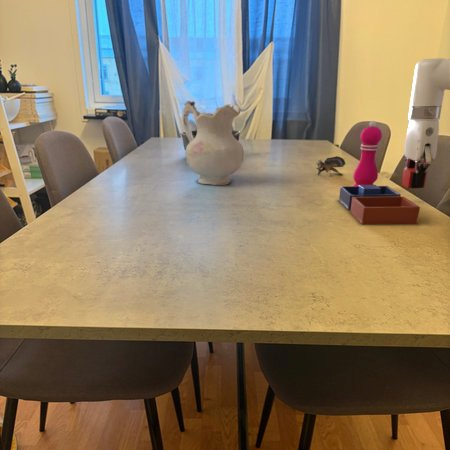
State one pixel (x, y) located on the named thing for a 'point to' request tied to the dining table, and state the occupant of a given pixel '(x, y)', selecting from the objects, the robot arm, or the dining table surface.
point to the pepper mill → (368, 156)
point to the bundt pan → (194, 133)
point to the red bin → (384, 210)
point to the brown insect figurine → (330, 164)
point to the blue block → (369, 190)
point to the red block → (409, 177)
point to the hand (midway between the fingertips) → (413, 185)
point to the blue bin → (352, 191)
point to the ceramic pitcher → (213, 144)
